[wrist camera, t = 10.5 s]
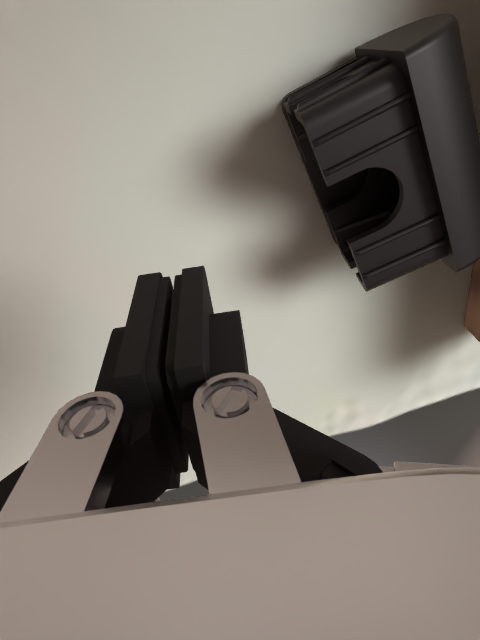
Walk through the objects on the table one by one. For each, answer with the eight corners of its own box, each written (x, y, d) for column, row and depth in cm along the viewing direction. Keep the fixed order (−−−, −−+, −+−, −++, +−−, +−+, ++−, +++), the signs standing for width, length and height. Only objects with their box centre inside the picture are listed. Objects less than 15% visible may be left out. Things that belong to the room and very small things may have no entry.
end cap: (452, 201, 27) (523, 246, 21) (339, 253, 28) (376, 310, 22) (410, 14, 22) (489, 6, 16) (274, 88, 23) (300, 106, 17)
